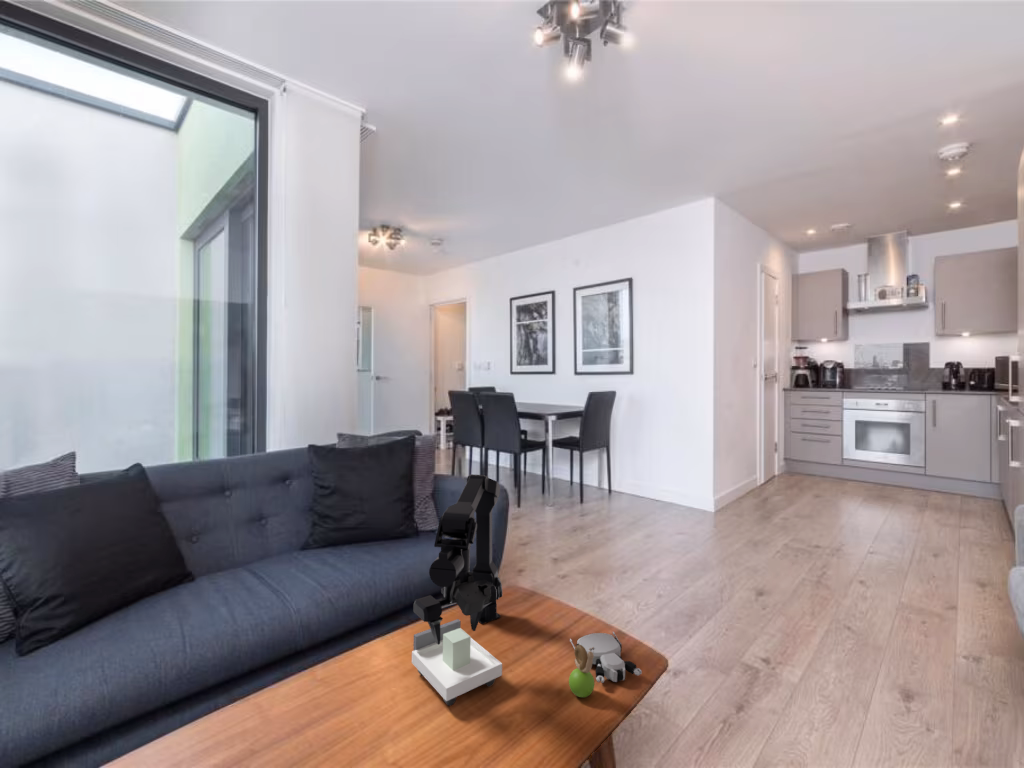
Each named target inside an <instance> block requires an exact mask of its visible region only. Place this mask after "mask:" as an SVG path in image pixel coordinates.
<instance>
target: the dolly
mask: <svg viewBox="0 0 1024 768" xmlns="http://www.w3.org/2000/svg"><path fill="white" fill-rule="evenodd" d="M461 624H462V623H461V620H460V619H459V618H457V619H454V620H451V621H449V622H445V623H444V624H440V636H441V638H440V644H439V645H438V644H437V643H436V641H435V639H434V636H433V634H432V631H431V629H430V628H429V629H426V630H424V631H420V632H417V633H415V634H413V650H412V651H411V664H412V665H413V666H414V667H415V668H416V669H417V673H418V674H419V675H420V676H422V677H424V678H425V679H426V681H428V683H429V684H430V685H431V686H432V688H434V689H435V690H436V692H437V693H438V694H439V695H440V696H441V697H442V698H443V701H444V702H445V704H446V705H447V706H449V707H450V706H452V705H454V704H455V703H456V700H457V697H458V696H461V695H463V694H466V693H467V692H469V691H472V690H475V689H476V688H478V687H480V686H482V685H486V686H487V687H493V685H494V684H495V682H496V679H497V678H499V677H501V676H503V663H502V662H501V661H500V660H499V659H497V658H496V656H494V655H492V654H491V652H489V651H488V650H487V649H486V648H484V647H483V646H482V645H481V644H479V643H478V642H477V641H476V640H475V639H473V638H472V637H471V636H470V663H469V664H467V665H465V666H462V667H460V668H458V669H455V670H452V669H451V668H450V667H449V666H448V665H447V664H446V663H445V662H444V661H443V634H445V633H447V632H450V631H453V630H456V629H458V628H461ZM461 629H462V628H461Z"/></svg>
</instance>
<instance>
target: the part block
mask: <svg viewBox="0 0 1024 768" xmlns="http://www.w3.org/2000/svg"><path fill="white" fill-rule="evenodd" d="M470 637H471V635H469V634H468V633H467V632H466V631H465V630H464V629H462V628H458V629H456V630H453V631H450V632H447V633H445V634H443V661H444V662H445V663H446V664H447V665H448V666H449V667H450V668H451V669H452V670H455V669H458V668H460V667H462V666H465V665H467V664H469V663H470Z"/></svg>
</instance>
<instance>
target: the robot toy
mask: <svg viewBox="0 0 1024 768" xmlns="http://www.w3.org/2000/svg"><path fill="white" fill-rule="evenodd" d="M576 641H577V642H576V644H574V643H573V640H572V639H571V638H569V642H570V643H571V645H572V647H573V649H574V650H575V647H576V646H577V645H582V646H583V647H584V648H585V650H586V651H587V654H588V652H590V650H589V648H592V647H594V650H592V651H591V652H592V653H593V654H594V657H593V663H592V665H595V667H596V668H595V670H594V671H595V680H596V682H597V683H601V684H603V683H605V678H606V680H610V681H612V682H614V683H617V682H623V681H625V680H626V679H625V678H626V672H628V674H629V673H630V675H635V676H641V675H642V673H643V672H642V670H641V669H640V667H639V668H638V667H637V664H635V663H633V662H632V661H629V660H626V661H625V660H623V659H622V656H621V653H622V642H621V641H620V640H619V638H618V636H617V635H616V633H615V631H612V634H609V633H605V632H595V633H590V634H589V633H588V634H587V635H583V636H582V637H579V638H578V640H576Z"/></svg>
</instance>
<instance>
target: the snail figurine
mask: <svg viewBox="0 0 1024 768" xmlns="http://www.w3.org/2000/svg"><path fill="white" fill-rule="evenodd" d="M574 647H575V650H574V657H575V658H574V663H575V667H576V668H574V669H573V670H572V671H571V672H570V674H569V676H568V686H569V688H570V691H571V692H572V693H573V694H574V696H576V697H578V698H581V699H582V698H587V697H589V696H591V694H592V693H593V691H594V689H595V679H594V678H595V677H594V676H593V674H592V673H591V670H592V667H593V664H592V663H593V657H594V654H593V653H592V652H591V651H592V650H594V647H592V648H589V650H590V652H588V654H587V651H586V650H585V648H584V647H583V646H582V645H577V646H576V645H575V646H574Z"/></svg>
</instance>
